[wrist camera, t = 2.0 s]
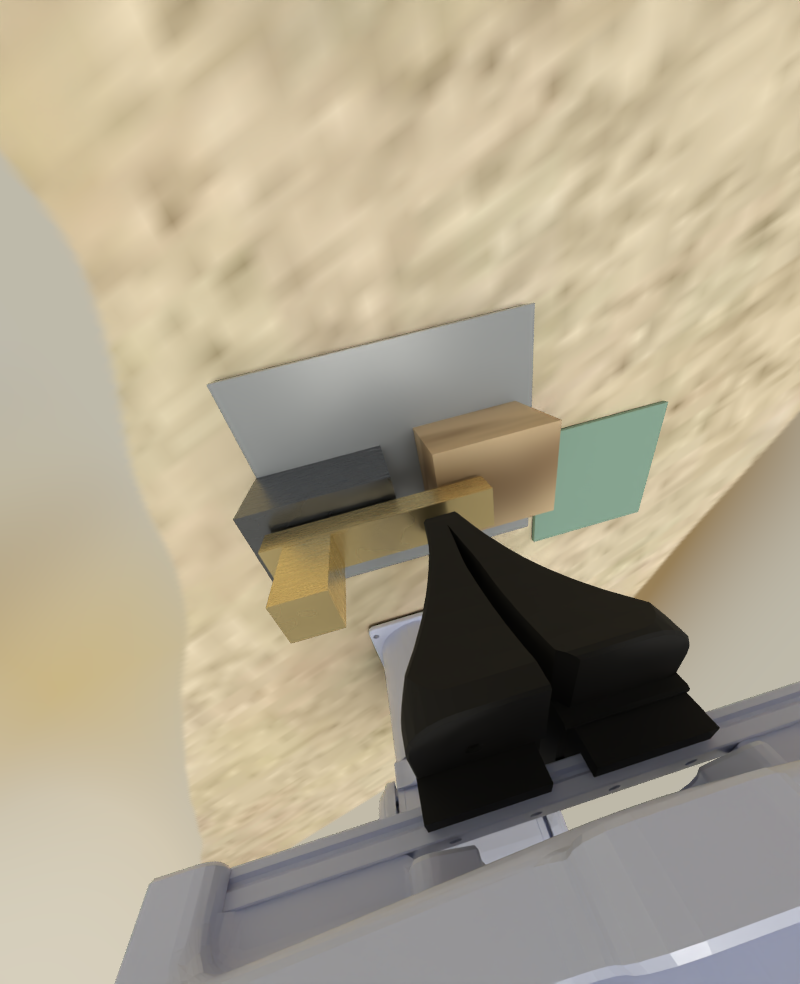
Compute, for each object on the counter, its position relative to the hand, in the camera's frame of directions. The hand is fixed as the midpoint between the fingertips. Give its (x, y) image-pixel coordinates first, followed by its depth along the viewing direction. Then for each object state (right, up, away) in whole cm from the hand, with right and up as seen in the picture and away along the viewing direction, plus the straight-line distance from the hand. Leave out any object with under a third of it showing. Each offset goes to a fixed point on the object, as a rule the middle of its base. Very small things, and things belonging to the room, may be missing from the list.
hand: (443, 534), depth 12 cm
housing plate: (-2, +3, +6) cm, 7 cm away
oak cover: (+2, +4, +6) cm, 7 cm away
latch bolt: (-3, 0, +2) cm, 3 cm away
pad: (+12, +3, +9) cm, 16 cm away
